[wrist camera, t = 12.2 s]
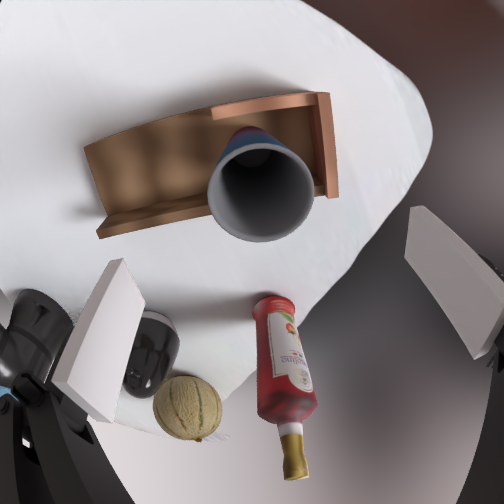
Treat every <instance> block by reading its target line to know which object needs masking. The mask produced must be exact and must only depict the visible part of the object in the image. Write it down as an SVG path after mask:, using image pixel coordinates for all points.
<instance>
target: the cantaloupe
mask: <svg viewBox="0 0 504 504" xmlns="http://www.w3.org/2000/svg"><path fill="white" fill-rule="evenodd" d="M153 411H154V415H155V418H156V420H157V422H158V424H159V425H160V426H161V428H162V429H163V430H164V431H165V432H166V433H168V434H169V435H171V436H173V437H175V438H178V439H182V440H195V441H196V442H201V441H202V439H201V438H204V437H206V436H208V435H210V434H211V433H213V432H214V431H215V430H216V428H217V427H218V426H219V424H220V421H221V417H222V403H221V399H220V397H219V395H218V393H217V392H216V390H215V389H214V388H213V387H212V386H211V385H210V384H209V383H207V382H206V381H204V380H202V379H199V378H196V377H191V376H177V377H174V378H171V379H170V380H168V381H166V382H165V383H164V384H163V385H162V386H161V387H160V389H159V390H158V391H157V392H156V393H155V396H154V401H153Z"/></svg>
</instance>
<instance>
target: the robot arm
mask: <svg viewBox="0 0 504 504" xmlns="http://www.w3.org/2000/svg"><path fill="white" fill-rule="evenodd" d="M405 259H406V260H407V261H408V263H409V264H410V265H411V266H412V268H413V269H414V270H415V272H416V273H417V274H418V276H419V277H420V278H421V280H422V281H423V282H424V284H425V285H426V286H427V288H428V289H429V291H430V292H431V293H432V295H433V296H434V298H435V299H436V300H437V302H438V303H439V305H440V306H441V308H442V309H443V311H444V312H445V314H446V315H447V317H448V318H449V319H450V321H451V323H452V324H453V326H454V327H455V329H456V330H457V332H458V334H459V335H460V337H461V338H462V340H463V341H464V343H465V345H466V347H467V348H468V350H469V352H470V353H471V355H472V357H473V359H474V360H475V359H476V358H479V357H480V356H482V355H484V354H486V353H488V351H489V350H490V348H491V346H492V345H493V343H495V344H496V346H497V349H496V351H495V352H494V353H493V355H492V357H491V358H490V359H489V361H488V363H487V366H486V367H489V365H490V364H491V363H492V361H493V360H494V364H493V366H492V368H493V372H492V380H491V387H490V393H489V399H488V404H487V409H486V414H485V419H484V423H483V427H482V431H481V435H480V439H479V442H478V446H477V449H476V452H475V456H474V459H473V462H472V465H471V468H470V470H469V473H468V476H467V479H466V481H465V484H464V486H463V489H462V491H461V493H460V496H459V498H458V500H457V503H456V504H504V276H503V275H502V273H501V272H500V271H499V270H497V268H496V267H495V266H494V265H493V264H492V263H491V262H490V261H489V260H488V259H486V258H485V257H483V256H482V255H480V254H478V255H477V254H476V253H475V252H474V251H473V250H472V249H471V248H470V247H469V246H468V245H467V244H466V243H465V242H464V241H463V240H462V239H461V238H460V237H459V236H458V235H457V234H456V233H454V232H453V231H452V230H451V229H450V228H449V227H448V226H447V225H446V224H444V223H443V222H442V221H441V220H440V219H439V218H438V217H436V216H435V215H434V214H433V213H432V212H430V211H429V210H428V209H427V208H426V207H424V206H417V207H411V208H410V217H409V227H408V235H407V243H406V250H405ZM145 304H146V303H145V301H144V299H143V297H142V295H141V293H140V291H139V289H138V287H137V285H136V283H135V281H134V279H133V277H132V275H131V273H130V271H129V269H128V267H127V265H126V263H125V260H124V258H121V259H116V260H112V261H110V262H109V263H108V265H107V267H106V268H105V270H104V272H103V274H102V275H101V277H100V279H99V281H98V283H97V284H96V286H95V288H94V290H93V292H92V294H91V295H90V297H89V299H88V301H87V303H86V305H85V307H84V309H83V311H82V313H81V315H80V317H79V319H78V321H77V323H76V325H75V326H73V324H72V321H71V319H70V318H69V316H68V315H67V313H66V312H65V311H64V310H63V309H62V307H61V306H60V305H59V304H57V303H56V302H55V301H54V300H53V299H51V298H50V297H48V296H47V295H45V294H43V293H41V292H39V291H36V290H31V289H27V290H23V291H22V292H21V293H20V294H19V296H18V297H17V299H16V300H15V303H14V307H13V310H12V314H11V319H10V323H9V326H8V327H7V329H5V328H4V327H3V326H2V325H1V324H0V504H135V503H134V501H133V500H132V498H131V497H130V495H129V494H128V492H127V491H126V489H125V487H124V486H123V484H122V483H121V481H120V479H119V478H118V476H117V474H116V473H115V471H114V469H113V467H112V466H111V464H110V462H109V460H108V459H107V457H106V455H105V453H104V451H103V449H102V447H101V445H100V443H99V441H98V439H97V437H96V435H95V433H94V431H93V429H92V427H91V425H90V423H89V422H88V421H87V416H88V414H89V415H90V416H91V417H92V418H93V419H95V420H96V421H99V422H106V423H113V420H114V415H115V411H116V407H117V402H118V398H119V394H120V390H121V386H122V382H123V378H124V374H125V370H126V367H127V363H128V359H129V356H130V352H131V349H132V345H133V342H134V339H135V335H136V332H137V329H138V326H139V322H140V319H141V316H142V313H143V310H144V307H145ZM53 360H54V362H53ZM52 362H53V364H52ZM51 364H52V366H51ZM50 366H51V369H50ZM49 369H50V371H49ZM48 371H49V374H48ZM47 374H48V376H47ZM46 376H47V379H46ZM45 379H46V381H45ZM44 381H45V383H44ZM22 438H24V439H25V440H27V441H28V442H30V447H29V448H28V447H26V446H24V445H23V442H22Z"/></svg>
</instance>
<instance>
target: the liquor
mask: <svg viewBox="0 0 504 504" xmlns="http://www.w3.org/2000/svg"><path fill="white" fill-rule="evenodd" d="M294 313H295V307H294V304H293V303H292V302H291V301H290V300H289V299H287V298H285V297H280V296H272V297H267V298H264V299H262V300H261V301H259V302H258V303H257V304H256V305H255V306H254V308H253V311H252V315H253V318H254V319H255V321H256V340H257V408H258V411H257V413H258V415H259V417H261V418H262V419H264V420H266V421H268V422H270V423H273V424H277V427H278V431H279V436H280V440H281V444H282V449H283V453H284V461H283V472H284V480H298V479H303V478H306V477H309V472H308V466H307V462H306V459H305V456H304V451H303V431H302V420H304V419H306V418H307V417H309V416H310V415H311V414H312V413H313V411H315V410H316V408H317V405H318V404H317V400H316V396H315V393H314V389H313V385H312V381H311V377H310V373H309V370H308V366H307V363H306V360H305V356H304V353H303V349H302V346H301V342H300V338H299V335H298V331H297V327H296V323H295V319H294Z"/></svg>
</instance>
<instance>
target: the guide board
mask: <svg viewBox="0 0 504 504" xmlns="http://www.w3.org/2000/svg"><path fill="white" fill-rule="evenodd" d="M248 126H254V127H258V128H261V129H263V130H264V131H266V132H267V133H269V134H270V135H271V136H273V137H274V138H275V139H277V140H278V141H279V142H281V143H282V144H283V145H285V146H286V147H287V148H289V149H290V150H291V151H293V152H294V153H295V154H296V155H298V156H299V157H300V158H301V160H302V161H303V162H304V163H305V164H306V166H307V167H308V169H309V171H310V173H311V176H312V179H313V183H314V197H317V196H324V195H326V197H327V198H328V199H330V198H337V197H339V192H338V173H337V159H336V146H335V135H334V125H333V116H332V108H331V99H330V93H327V92H312V91H311V92H300V93H290V94H281V95H274V96H266V97H260V98H253V99H247V100H241V101H236V102H231V103H225V104H221V105H216V106H211V107H207V108H202V109H198V110H194V111H190V112H186V113H182V114H178V115H175V116H171V117H167V118H164V119H161V120H157V121H154V122H151V123H147V124H144V125H141V126H138V127H135V128H132V129H129V130H126V131H123V132H121V133H118V134H115V135H112V136H110V137H107V138H104V139H102V140H99V141H97V142H94V143H92V144H90V145H88V146H86V147H84V150H85V154H86V157H87V160H88V163H89V166H90V169H91V172H92V175H93V178H94V181H95V184H96V186H97V189H98V192H99V195H100V197H101V200H102V203H103V205H104V208H105V210H106V213H107V215H108V217H107V218H106V219H105V220H104V221H103V223H102V224H101V225H100V226H99V228H98V229H97V230H96V232H97V235H98V237H99V239H103V238H107V237H111V236H115V235H120V234H124V233H128V232H132V231H137V230H141V229H146V228H150V227H155V226H159V225H164V224H168V223H173V222H178V221H183V220H188V219H192V218H197V217H202V216H207V215H212V213H211V211H210V208H209V205H208V198H207V190H208V183H209V180H210V177H211V174H212V172H213V170H214V168H215V166H216V164H217V163H218V161H219V159H220V157H221V155H222V153H223V151H224V150H225V148H226V146H227V144H228V142H229V141H230V139H231V137H232V136H233V134H234V133H235V132H236V131H238V130H239V129H241V128H244V127H248Z"/></svg>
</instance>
